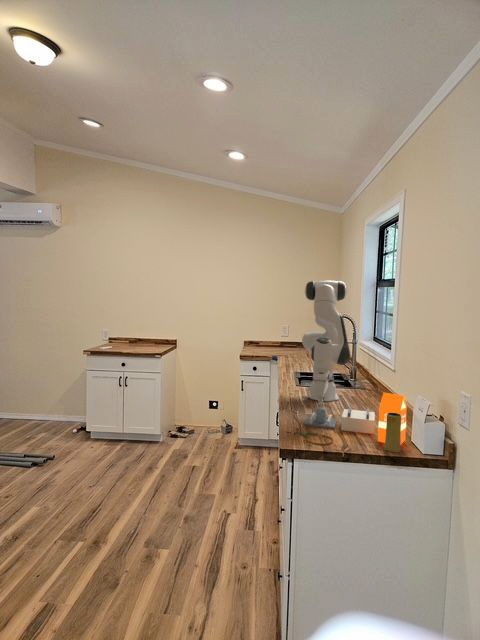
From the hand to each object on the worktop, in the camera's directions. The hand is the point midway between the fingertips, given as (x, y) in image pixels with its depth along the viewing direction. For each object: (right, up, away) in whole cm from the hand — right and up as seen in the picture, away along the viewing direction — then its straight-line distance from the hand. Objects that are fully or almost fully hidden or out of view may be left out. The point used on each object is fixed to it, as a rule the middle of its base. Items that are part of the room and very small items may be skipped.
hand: (321, 402), depth 197 cm
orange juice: (+25, -12, -23) cm, 36 cm away
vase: (+22, -13, -32) cm, 41 cm away
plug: (0, -9, 0) cm, 9 cm away
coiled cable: (-6, -12, -21) cm, 25 cm away
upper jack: (+16, -11, -5) cm, 20 cm away
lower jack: (0, -10, 0) cm, 10 cm away
